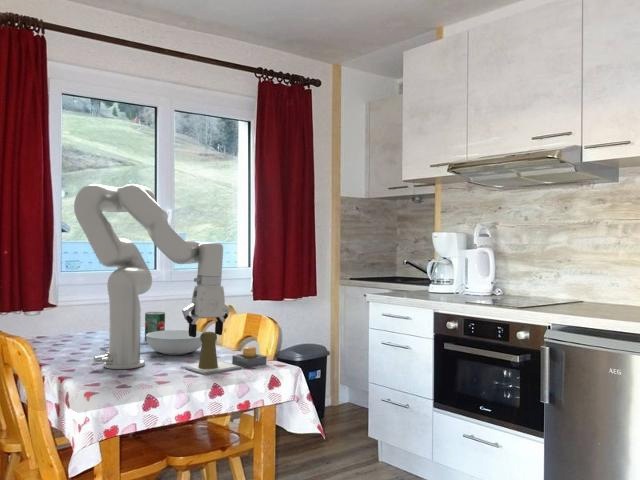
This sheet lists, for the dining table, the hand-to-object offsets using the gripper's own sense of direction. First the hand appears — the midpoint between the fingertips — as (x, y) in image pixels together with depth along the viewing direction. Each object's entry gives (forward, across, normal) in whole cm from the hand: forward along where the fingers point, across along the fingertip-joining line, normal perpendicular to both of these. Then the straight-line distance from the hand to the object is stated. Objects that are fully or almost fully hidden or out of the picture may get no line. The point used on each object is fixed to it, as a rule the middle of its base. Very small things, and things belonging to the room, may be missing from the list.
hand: (205, 335), depth 186 cm
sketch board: (+11, +3, -1) cm, 11 cm away
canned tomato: (+13, +16, +60) cm, 64 cm away
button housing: (+10, +16, -3) cm, 19 cm away
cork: (+10, +1, -1) cm, 10 cm away
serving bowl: (+12, +8, +30) cm, 34 cm away
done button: (+8, +16, -3) cm, 18 cm away
